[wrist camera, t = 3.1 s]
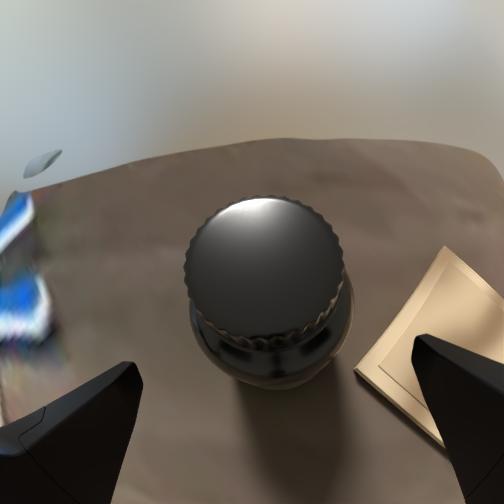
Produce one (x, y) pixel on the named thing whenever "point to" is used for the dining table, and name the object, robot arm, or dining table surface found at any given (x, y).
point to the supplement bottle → (268, 291)
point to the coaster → (435, 333)
